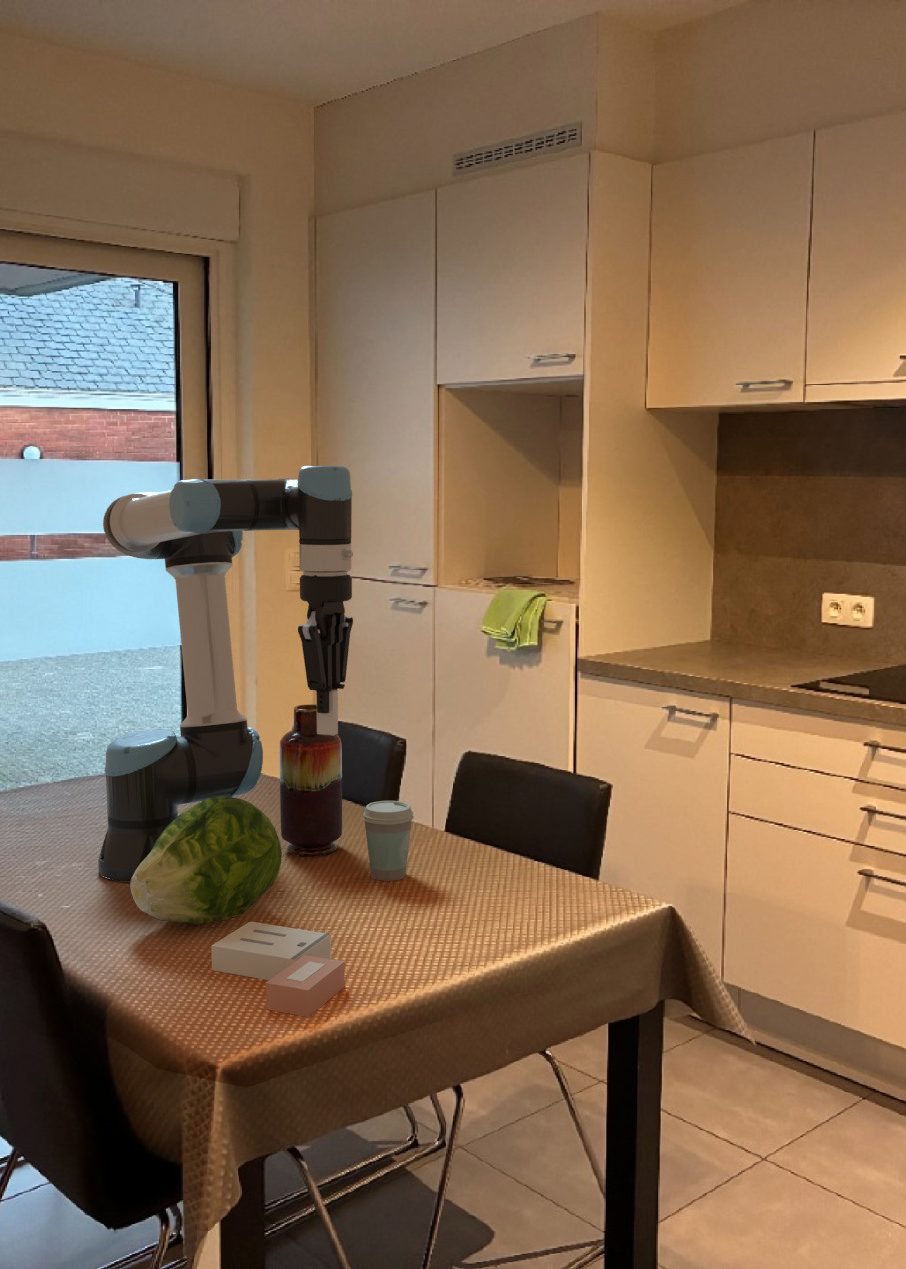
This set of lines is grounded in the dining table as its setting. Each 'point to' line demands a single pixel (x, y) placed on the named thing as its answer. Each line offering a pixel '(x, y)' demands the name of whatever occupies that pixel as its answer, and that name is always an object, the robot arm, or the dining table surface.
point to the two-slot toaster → (266, 949)
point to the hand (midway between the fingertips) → (327, 733)
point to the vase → (310, 786)
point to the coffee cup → (388, 838)
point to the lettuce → (209, 863)
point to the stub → (305, 985)
